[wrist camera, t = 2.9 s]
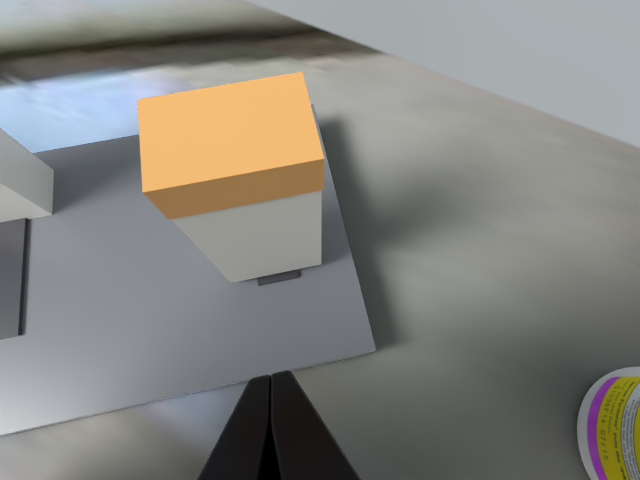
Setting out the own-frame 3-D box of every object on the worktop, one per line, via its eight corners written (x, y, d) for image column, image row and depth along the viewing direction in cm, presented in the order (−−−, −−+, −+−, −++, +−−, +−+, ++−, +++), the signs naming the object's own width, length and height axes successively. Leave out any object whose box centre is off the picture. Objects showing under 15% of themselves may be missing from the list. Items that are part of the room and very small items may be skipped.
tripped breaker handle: (322, 265, 17) (324, 158, 9) (229, 284, 16) (142, 192, 8) (310, 212, 17) (302, 71, 9) (222, 229, 17) (137, 99, 9)
